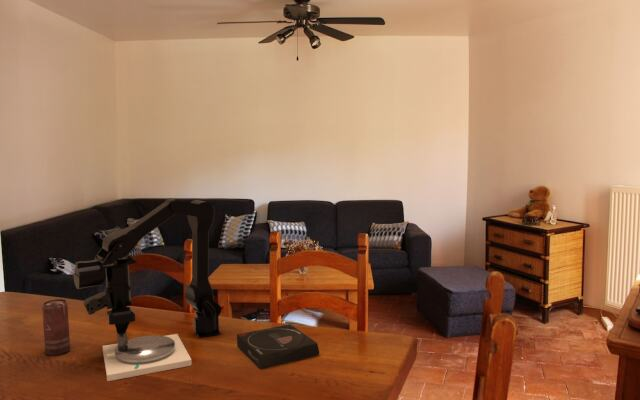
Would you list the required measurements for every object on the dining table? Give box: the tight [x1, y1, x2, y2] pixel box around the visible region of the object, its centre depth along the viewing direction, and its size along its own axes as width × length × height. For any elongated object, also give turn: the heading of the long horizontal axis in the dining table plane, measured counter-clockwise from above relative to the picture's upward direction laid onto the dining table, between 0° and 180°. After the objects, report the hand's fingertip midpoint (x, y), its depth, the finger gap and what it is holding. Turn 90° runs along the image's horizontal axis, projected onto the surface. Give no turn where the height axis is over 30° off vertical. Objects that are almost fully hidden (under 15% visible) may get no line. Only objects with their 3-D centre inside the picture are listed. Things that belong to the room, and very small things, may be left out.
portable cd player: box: [236, 324, 320, 370], centre depth 141 cm, size 16×17×4 cm
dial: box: [106, 332, 175, 364], centre depth 136 cm, size 17×15×6 cm
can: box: [41, 298, 71, 357], centre depth 140 cm, size 6×6×14 cm
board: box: [102, 333, 193, 382], centre depth 136 cm, size 20×20×2 cm
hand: (121, 338), depth 139 cm, fingers closed
